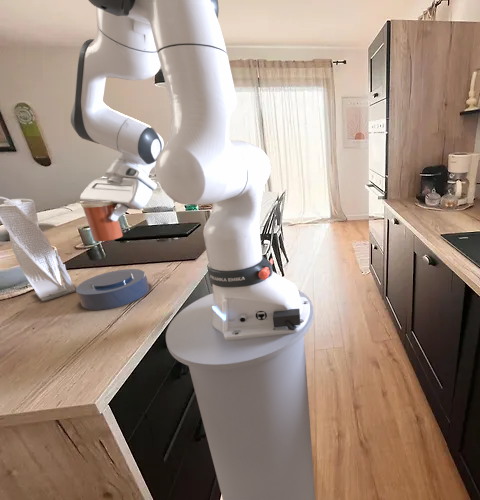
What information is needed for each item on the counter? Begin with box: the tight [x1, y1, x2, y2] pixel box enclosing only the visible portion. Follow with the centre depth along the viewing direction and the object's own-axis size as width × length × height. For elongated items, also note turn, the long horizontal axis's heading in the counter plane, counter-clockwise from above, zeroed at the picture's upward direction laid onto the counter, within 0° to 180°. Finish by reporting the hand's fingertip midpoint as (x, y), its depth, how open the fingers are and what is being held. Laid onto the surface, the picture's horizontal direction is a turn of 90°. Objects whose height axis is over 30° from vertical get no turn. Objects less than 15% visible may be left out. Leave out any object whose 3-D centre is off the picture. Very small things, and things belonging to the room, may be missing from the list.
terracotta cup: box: [80, 200, 124, 242], centre depth 78 cm, size 7×7×10 cm
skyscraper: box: [0, 196, 76, 303], centre depth 76 cm, size 8×8×28 cm
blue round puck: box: [75, 268, 150, 311], centre depth 79 cm, size 15×15×5 cm
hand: (100, 219), depth 77 cm, fingers closed on terracotta cup, 6 cm apart
